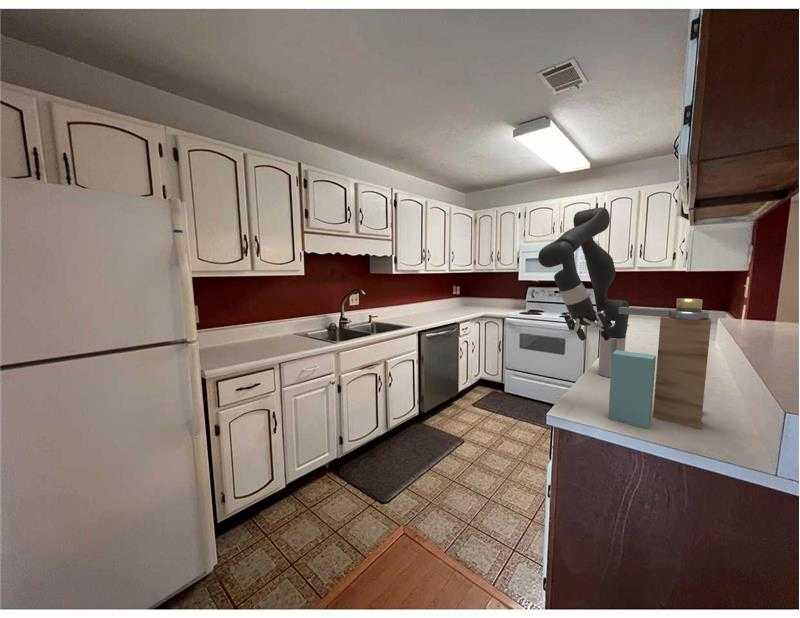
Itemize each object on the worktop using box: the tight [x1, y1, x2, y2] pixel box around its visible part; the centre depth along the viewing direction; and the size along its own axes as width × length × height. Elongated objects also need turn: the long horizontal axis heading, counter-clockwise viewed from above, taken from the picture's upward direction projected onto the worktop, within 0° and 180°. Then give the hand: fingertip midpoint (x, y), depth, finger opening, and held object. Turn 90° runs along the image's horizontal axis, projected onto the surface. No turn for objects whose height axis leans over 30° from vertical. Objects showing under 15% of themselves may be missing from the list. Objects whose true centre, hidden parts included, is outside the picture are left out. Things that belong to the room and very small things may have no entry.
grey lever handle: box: [618, 297, 711, 320], centre depth 98 cm, size 9×22×6 cm, turn 45°
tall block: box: [607, 350, 657, 430], centre depth 98 cm, size 6×10×21 cm, turn 45°
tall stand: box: [652, 317, 712, 430], centre depth 97 cm, size 6×11×32 cm, turn 45°
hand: (595, 339), depth 109 cm, fingers open, 8 cm apart
